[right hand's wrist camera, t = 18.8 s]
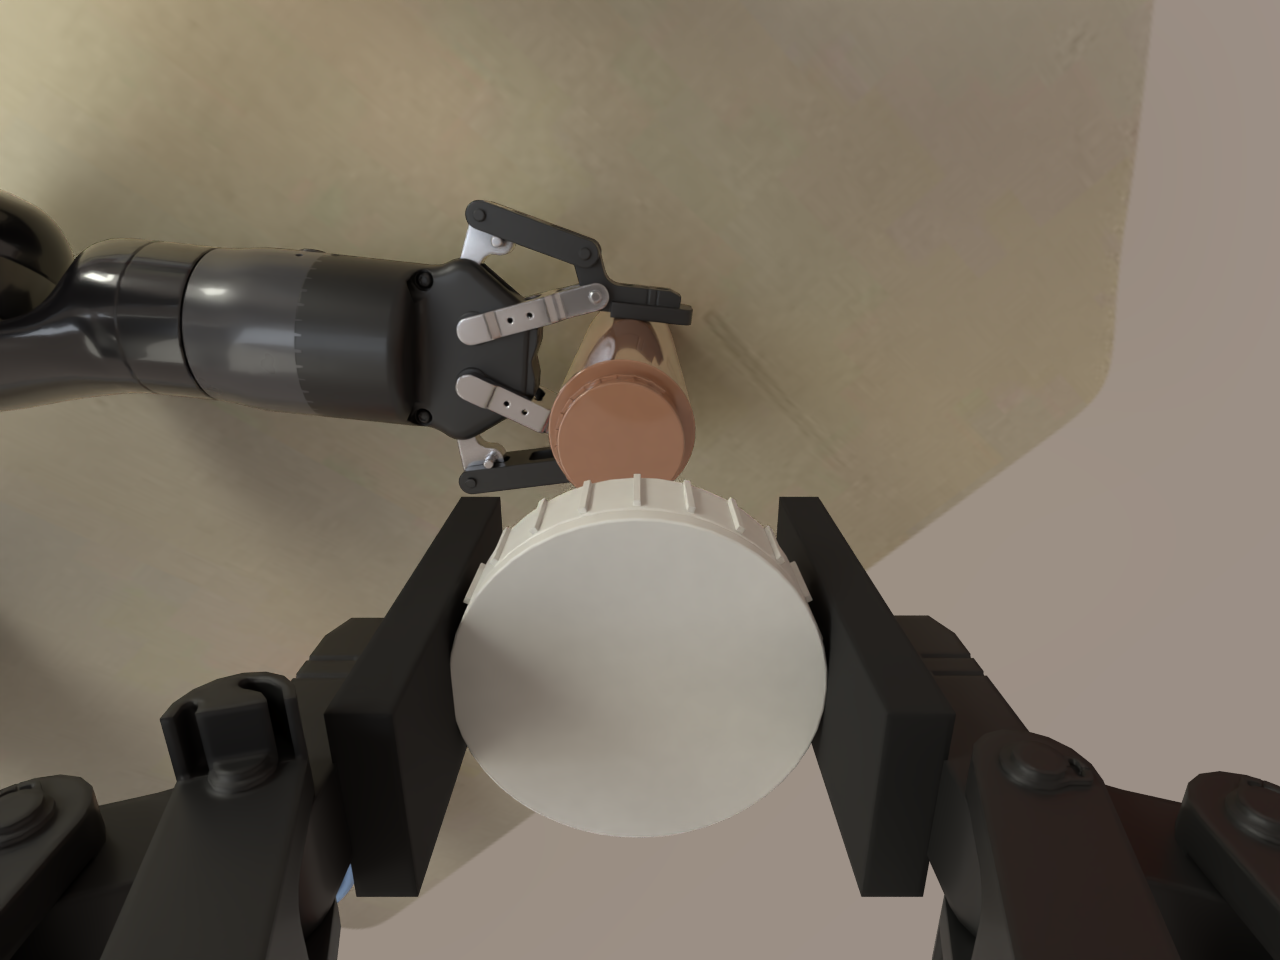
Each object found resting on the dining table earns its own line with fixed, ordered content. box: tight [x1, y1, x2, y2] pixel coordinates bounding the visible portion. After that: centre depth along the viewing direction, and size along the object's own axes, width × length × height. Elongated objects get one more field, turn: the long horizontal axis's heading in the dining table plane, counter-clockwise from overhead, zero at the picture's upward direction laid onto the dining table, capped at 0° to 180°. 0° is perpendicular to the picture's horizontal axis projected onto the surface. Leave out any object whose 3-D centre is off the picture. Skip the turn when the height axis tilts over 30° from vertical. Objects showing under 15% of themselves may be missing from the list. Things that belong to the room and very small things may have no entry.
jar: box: [548, 311, 695, 488], centre depth 32 cm, size 5×5×19 cm
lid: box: [450, 474, 827, 838], centre depth 11 cm, size 6×6×2 cm
